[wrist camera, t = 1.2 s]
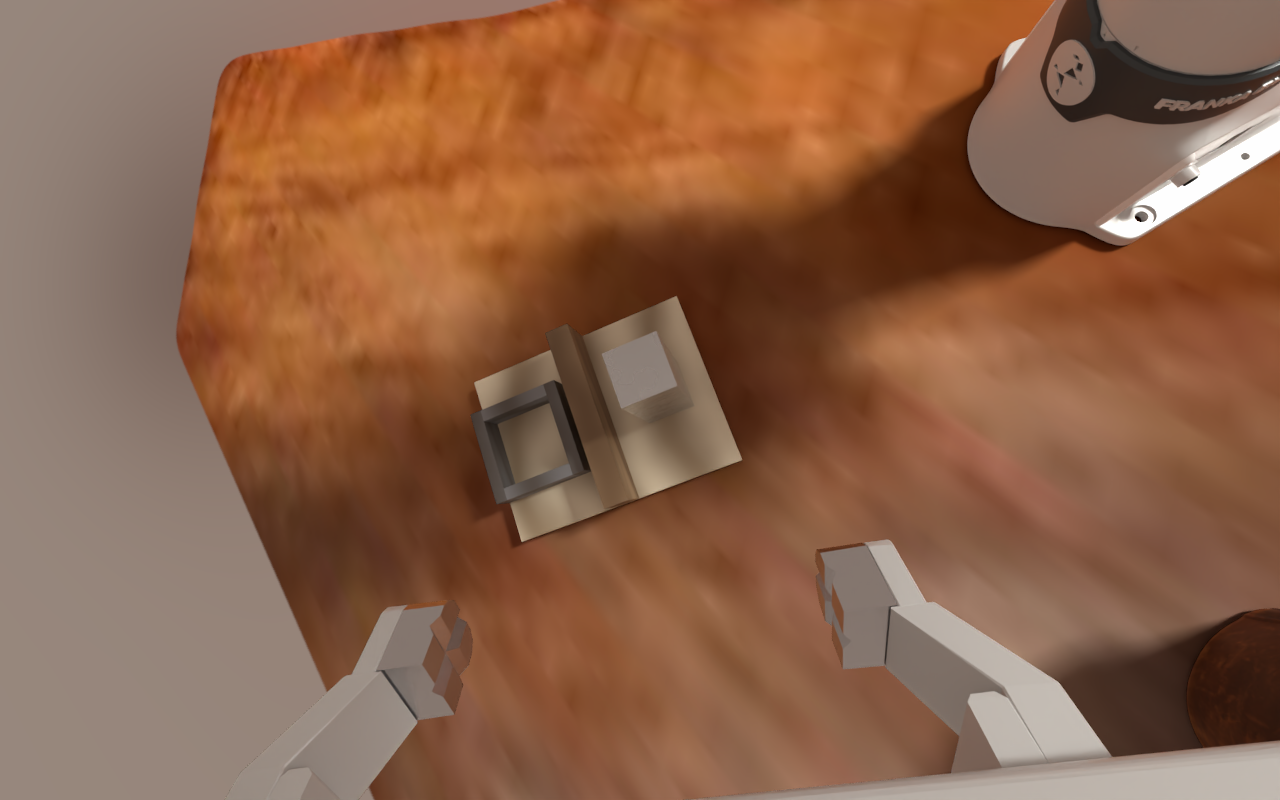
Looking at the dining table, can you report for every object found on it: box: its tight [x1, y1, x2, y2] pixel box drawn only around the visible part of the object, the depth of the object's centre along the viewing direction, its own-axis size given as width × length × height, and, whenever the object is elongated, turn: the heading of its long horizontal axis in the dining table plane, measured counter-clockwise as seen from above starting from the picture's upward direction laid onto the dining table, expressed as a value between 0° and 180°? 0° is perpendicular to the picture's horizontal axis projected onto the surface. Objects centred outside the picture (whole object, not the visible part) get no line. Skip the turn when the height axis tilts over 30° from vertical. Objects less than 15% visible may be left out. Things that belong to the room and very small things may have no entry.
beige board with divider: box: [471, 296, 742, 542], centre depth 44 cm, size 20×15×6 cm
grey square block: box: [602, 331, 694, 423], centre depth 40 cm, size 4×4×10 cm
